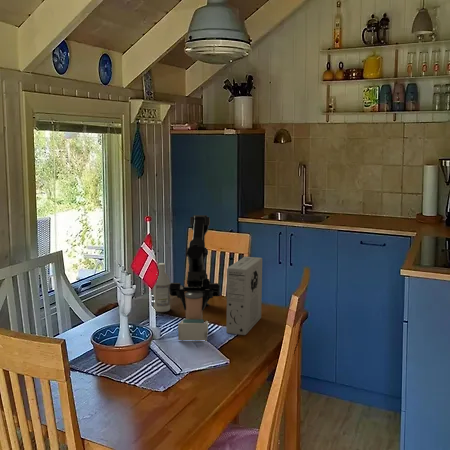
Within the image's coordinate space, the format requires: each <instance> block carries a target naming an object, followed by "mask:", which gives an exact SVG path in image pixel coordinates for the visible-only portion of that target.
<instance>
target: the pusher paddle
mask: <svg viewBox="0 0 450 450" xmlns="http://www.w3.org/2000/svg"><path fill="white" fill-rule="evenodd" d="M182 321H183V323H205V320H204V318H202V319H186V318H184V319H182Z"/></svg>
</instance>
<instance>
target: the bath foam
mask: <svg viewBox="0 0 450 450" xmlns="http://www.w3.org/2000/svg"><path fill="white" fill-rule="evenodd" d="M158 269H159V276H158V280H157V283H156V285H155V286H154V288H153V290H152V291H153V296H154V300H155V303H154V302H153V309H154V308H155V309H156V311H155V312H158V313H165V312H169V311H170V310H171V295H170V289H169V287H170V284H171V280H170V278H169V275H168V274H167V273H166V263H165V262H159V263H158V264H157V270H158ZM154 300H153V301H154Z"/></svg>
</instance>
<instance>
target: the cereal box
mask: <svg viewBox="0 0 450 450" xmlns="http://www.w3.org/2000/svg"><path fill="white" fill-rule="evenodd" d="M262 288H263V257H256V256H243V257H242V258H240V259H239V260H237V261H235V262H234V263H232V265H229V266H228V267H227V268H226V334H232V335H239V336H241V335H242V336H246V335H247V334H248V333H249V332H250V331H251V330H252V328H253V327H255V326H256V324H257V323H258V322H259V321H260V319H262V298H263V297H262V296H263V295H262V293H263V291H262V290H263V289H262Z"/></svg>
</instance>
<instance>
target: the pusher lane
mask: <svg viewBox="0 0 450 450" xmlns="http://www.w3.org/2000/svg"><path fill="white" fill-rule="evenodd" d="M177 326H178V328H177V331H178V334H177V336H178V338H177V341H178V340H205V341H207V342H208V335H209V321H208V320H205V321H204V323H183V320H181V321H180V322H178V324H177Z"/></svg>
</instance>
